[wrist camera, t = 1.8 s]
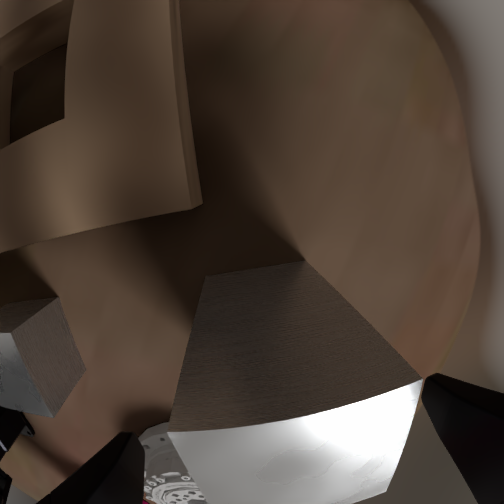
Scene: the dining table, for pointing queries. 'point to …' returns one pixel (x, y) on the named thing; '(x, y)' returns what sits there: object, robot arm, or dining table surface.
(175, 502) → the mechanical component
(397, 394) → the grey tall rectangular block
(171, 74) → the hole block
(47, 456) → the dining table surface
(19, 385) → the grey cube
